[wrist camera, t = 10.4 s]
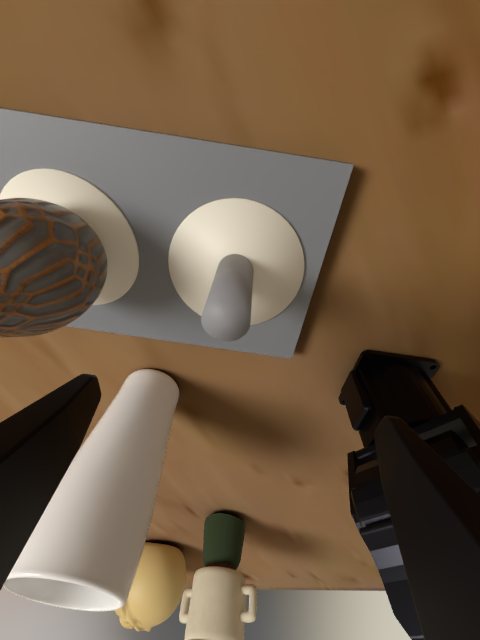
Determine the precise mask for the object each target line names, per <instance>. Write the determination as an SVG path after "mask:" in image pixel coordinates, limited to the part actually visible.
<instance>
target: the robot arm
mask: <svg viewBox="0 0 480 640" xmlns="http://www.w3.org/2000/svg"><path fill="white" fill-rule="evenodd" d="M366 356H368V357H366ZM432 365H433V366H432ZM439 367H440V365H439V364H438V362H437V361H436V360H432V359H425V358H418V357H412V356H405V355H398V354H391V353H384V352H377V351H371V350H366V351H363V352H362V353H361V354H360V356H359V358H358V360H357V362H356V364H355V366H354V368H353V370H352V371H351V372H350V373H349V375H348V377H347V379H346V381H345V383H344V385H343V387H342V389H341V394H340V396H339V402H340V404H342V405H346V408H347V412H348V415H349V418H350V421H351V425H352V427H353V429H354V430H356V431H359V434H360V437H361V440H362V443H363V446H364V448H363V449H361V450H358V451H356V452H355V451H353V452H350V453H348V475H349V497H350V510H351V515H352V517H353V519H354V521H355V524H356V526H357V528H358V531H359V533H360V534H361V536H362V538H363V540H364V542H365V543H366V545H367V547H368V549H369V551H370V553H371V555H372V557H373V559H374V561H375V564H376V566H377V568H378V570H379V573H380V576H381V578H382V581H383V584H384V587H385V590H386V593H387V595H388V598H389V601H390V604H391V607H392V610H393V613H394V615H395V617H396V618H397V620H398V621H399V623H400V624H401V625H402V627H403V628H404V630H405V631H406V632H407V634H408V635H409V636H410V638H411V639H412V640H480V423H479V422H478V421H477V419H476V418H475V417H474V416H473V415H472V414H471V413H470V412H469V411H468V410H467V409H466V408H465V407H464V406H463V404H462V405H460V406H457V407H455V408H454V410H451V408H450V407H449V405H448V404H447V403H446V401H445V400H444V398H443V397H442V395H441V394H440V392H439V391H438V389H437V388H436V387H435V385H434V384H433V382H432V381H431V378H432V377H433V376H434V374H435V373H436V372H437V370H438V369H439ZM100 399H101V390H100V386H99V382H98V378H97V377H96V376H95V375H90V374H81V375H79V376H77V377H76V378H74V379H72V380H71V381H69V382H67V383H66V384H64V385H62V386H61V387H59V388H57V389H56V390H54V391H52V392H51V393H49V394H47V395H46V396H44V397H42V398H41V399H39V400H37V401H36V402H34V403H32V404H31V405H29V406H27V407H26V408H24V409H22V410H21V411H19V412H17V413H16V414H14V415H12V416H11V417H9V418H7V419H6V420H4V421H2V422H1V423H0V590H1V588H2V586H3V585H4V583H5V581H6V579H7V577H8V576H9V574H10V572H11V570H12V568H13V567H14V565H15V563H16V561H17V559H18V558H19V556H20V554H21V552H22V551H23V549H24V547H25V545H26V543H27V542H28V540H29V538H30V536H31V534H32V533H33V531H34V529H35V527H36V525H37V524H38V522H39V520H40V518H41V516H42V515H43V513H44V511H45V509H46V507H47V506H48V504H49V502H50V500H51V498H52V497H53V495H54V493H55V491H56V489H57V488H58V486H59V484H60V482H61V480H62V479H63V477H64V475H65V473H66V471H67V470H68V468H69V466H70V464H71V463H72V461H73V459H74V457H75V455H76V453H77V452H78V450H79V448H80V446H81V444H82V441H83V439H84V437H85V435H86V432H87V430H88V428H89V425H90V423H91V421H92V418H93V416H94V414H95V411H96V409H97V407H98V404H99V402H100Z"/></svg>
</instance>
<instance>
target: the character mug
mask: <svg viewBox="0 0 480 640" xmlns="http://www.w3.org/2000/svg"><path fill="white" fill-rule="evenodd" d="M245 524H246V523H245V522H244V521H242V520H240V519H239V518H237V517H235V516H232V515H229V514H223V513H216V514H211V515H209V516H208V517H207V518H206V520H205V524H204V544H203V560H204V564H205V566H206V567H203V568H200V569H198V570H197V571H196V572H195V575H194V580H193V586H192V588H187V589H185V590H184V593H183V597H182V603H181V609H180V615H179V617H180V622H181V623H187V626H186V632H185V640H244V627H245V622H247V623H248V622H253V621H255V620H256V615H257V614H256V613H257V590H256V586H255V585H253V584H249V585H246V583H245V579H244V577H243V575H242V574H241V573H239V572H237V571H236V569H237V567H238V565H239V563H240V560H241V553H242V547H243V541H244V533H245ZM246 595H249V611H245V607H246ZM190 597H191V599H190ZM189 599H190V606H189V612H187V611H188V604H189Z"/></svg>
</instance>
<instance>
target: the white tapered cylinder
mask: <svg viewBox="0 0 480 640" xmlns="http://www.w3.org/2000/svg"><path fill="white" fill-rule="evenodd" d="M178 399H179V388H178V386H177V384H176V382H175V381H174V380H173V379H172V378H171V377H170V376H169V375H167V374H165V373H163V372H161V371H158V370H154V369H141V370H137V371H135V372H133V373H131V374H130V375H129V376H128V377H127V378H126V380H125V382H124V383H123V385H122V387H121V389H120V390H119V392H118V394H117V395H116V397H115V398H114V400H113V401H112V403H111V404H110V406H109V407H108V409H107V410H106V411H105V413H104V414H103V416H102V417H101V419H100V420H99V422H98V423H97V425H96V426H95V428H94V429H93V430H92V432H91V433H90V435H89V436H88V438H87V439H86V441H85V442H84V443H83V445H82V446H81V448H80V449H79V451H78V452H77V454H76V455H75V457H74V459H73V461H72V463H71V464H70V466H69V468H68V470H67V471H66V473H65V475H64V477H63V479H62V480H61V482H60V484H59V486H58V488H57V489H56V491H55V493H54V495H53V497H52V498H51V500H50V502H49V504H48V506H47V507H46V509H45V511H44V513H43V515H42V516H41V518H40V520H39V522H38V524H37V525H36V527H35V529H34V531H33V533H32V534H31V536H30V538H29V540H28V542H27V543H26V545H25V547H24V549H23V551H22V552H21V554H20V556H19V558H18V559H17V561H16V563H15V565H14V567H13V568H12V570H11V572H10V574H9V576H8V577H7V579H6V581H5V583H4V585H3V587H4V588H5V589H6V590H8V591H9V592H11V593H13V594H16V595H18V596H21V597H23V598H26V599H29V600H33V601H36V602H39V603H43V604H48V605H52V606H57V607H62V608H68V609H76V610H85V611H112V610H117V609H120V608H122V607H123V606H124V605H125V604H126V602H127V599H128V596H129V592H130V589H131V586H132V583H133V580H134V577H135V574H136V571H137V568H138V565H139V562H140V558H141V555H142V552H143V548H144V545H145V541H146V538H147V534H148V530H149V527H150V523H151V519H152V515H153V510H154V506H155V501H156V497H157V492H158V487H159V482H160V478H161V473H162V468H163V463H164V458H165V454H166V449H167V444H168V440H169V435H170V430H171V426H172V421H173V417H174V412H175V409H176V406H177V403H178Z"/></svg>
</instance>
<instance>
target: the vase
mask: <svg viewBox="0 0 480 640" xmlns="http://www.w3.org/2000/svg"><path fill="white" fill-rule="evenodd" d="M107 266H108V265H107V256H106V252H105V249H104V247H103V245H102V243H101V241H100V239H99V237H98V236H97V234H96V233H95V231H94V230H93V229H92V228H91V227H90V226H89V225H88V224H87V223H86V222H85V221H84V220H83V219H82V218H81V217H79V216H78V215H77V214H75V213H74V212H72V211H70V210H69V209H67V208H65V207H62V206H60V205H57V204H54V203H51V202H48V201H43V200H38V199H31V198H9V199H1V200H0V337H27V336H35V335H41V334H44V333H48V332H51V331H54V330H56V329H59V328H61V327H63V326H65V325H67V324H69V323H71V322H73V321H74V320H76V319H77V318H79V317H80V316H81V315H82V314H84V313H85V312H86V311H87V310H88V309H89V308H90V307H91V306H92V304H93V303H94V302H95V301H96V299H97V298H98V297H99V295H100V293H101V291H102V289H103V287H104V284H105V281H106V277H107Z"/></svg>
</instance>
